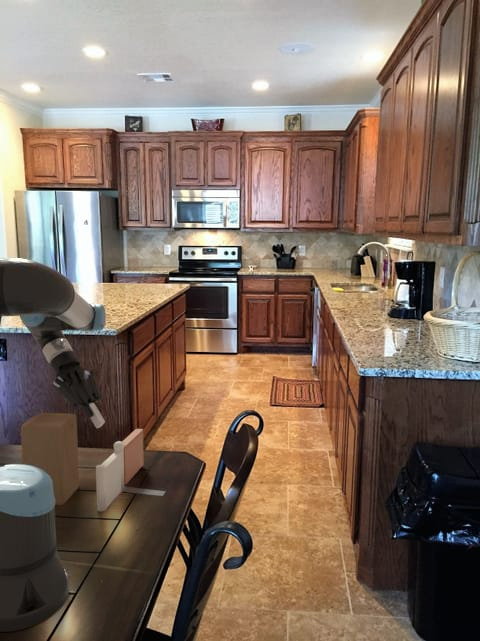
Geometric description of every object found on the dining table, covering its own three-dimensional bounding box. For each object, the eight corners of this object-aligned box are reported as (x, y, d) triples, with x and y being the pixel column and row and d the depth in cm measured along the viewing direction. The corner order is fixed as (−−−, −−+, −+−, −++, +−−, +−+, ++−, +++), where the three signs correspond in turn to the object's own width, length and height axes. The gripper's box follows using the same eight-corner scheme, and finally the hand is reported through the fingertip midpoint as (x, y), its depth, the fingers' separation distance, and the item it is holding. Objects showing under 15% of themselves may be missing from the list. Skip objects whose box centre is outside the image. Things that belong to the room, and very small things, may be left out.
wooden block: (80, 487, 127) (77, 412, 124) (63, 507, 118) (59, 427, 115) (43, 485, 128) (39, 411, 125) (23, 505, 119) (18, 425, 116)
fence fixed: (104, 512, 115) (103, 460, 113) (94, 510, 115) (92, 459, 113) (126, 486, 127) (125, 439, 125) (117, 485, 127) (116, 439, 126)
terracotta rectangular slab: (126, 484, 127) (125, 446, 126) (118, 483, 128) (117, 445, 126) (143, 464, 139) (143, 429, 137) (137, 464, 139) (136, 428, 138)
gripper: (46, 353, 137) (86, 424, 130) (85, 346, 147) (125, 411, 140) (36, 369, 140) (75, 439, 133) (75, 360, 151) (113, 425, 144)
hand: (100, 425), depth 137 cm, fingers closed
